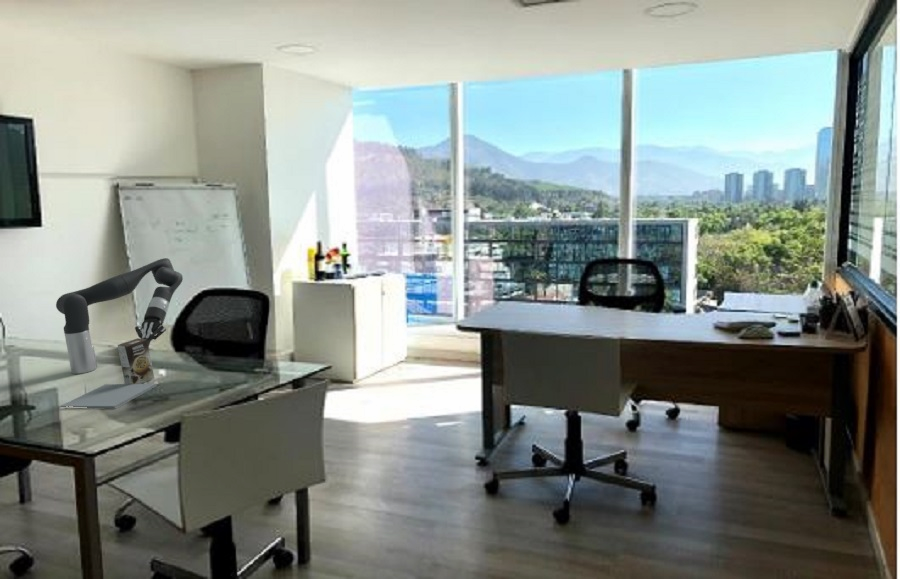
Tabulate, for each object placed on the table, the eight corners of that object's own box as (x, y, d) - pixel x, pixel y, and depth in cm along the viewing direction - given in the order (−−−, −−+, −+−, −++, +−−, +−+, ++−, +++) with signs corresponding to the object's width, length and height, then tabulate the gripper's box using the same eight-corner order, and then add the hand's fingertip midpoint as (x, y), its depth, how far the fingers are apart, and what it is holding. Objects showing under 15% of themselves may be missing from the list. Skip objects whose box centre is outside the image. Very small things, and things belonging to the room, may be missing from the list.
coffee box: (134, 386, 262) (126, 346, 258) (124, 384, 265) (116, 344, 261) (155, 378, 269) (147, 339, 265) (145, 376, 272) (137, 337, 268)
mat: (105, 386, 264) (105, 384, 264) (156, 386, 260) (156, 383, 259) (59, 409, 241) (59, 406, 241) (115, 408, 236) (114, 406, 236)
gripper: (176, 315, 280) (163, 352, 271) (147, 316, 283) (133, 353, 273) (167, 305, 274) (153, 343, 264) (137, 306, 276) (123, 343, 267)
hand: (143, 348), depth 269 cm, fingers closed
